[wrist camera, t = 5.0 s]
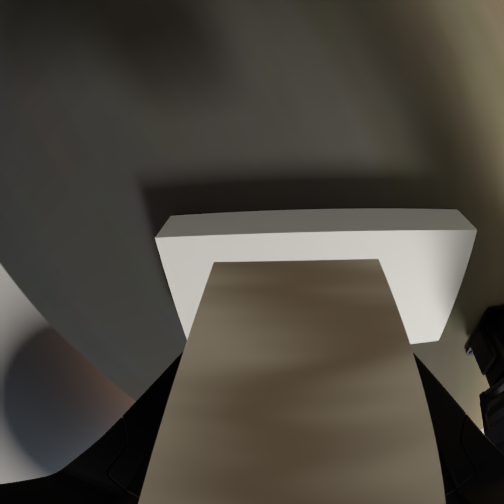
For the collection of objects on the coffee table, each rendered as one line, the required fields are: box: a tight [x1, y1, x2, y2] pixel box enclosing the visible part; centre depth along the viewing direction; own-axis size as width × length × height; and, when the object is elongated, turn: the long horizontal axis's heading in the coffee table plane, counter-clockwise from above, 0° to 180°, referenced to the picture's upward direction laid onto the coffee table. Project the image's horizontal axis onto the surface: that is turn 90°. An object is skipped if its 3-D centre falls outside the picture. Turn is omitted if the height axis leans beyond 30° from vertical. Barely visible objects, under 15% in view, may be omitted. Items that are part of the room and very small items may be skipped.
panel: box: [155, 208, 477, 344], centre depth 20 cm, size 20×10×3 cm, turn 95°
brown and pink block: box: [138, 259, 446, 504], centre depth 7 cm, size 5×4×8 cm
